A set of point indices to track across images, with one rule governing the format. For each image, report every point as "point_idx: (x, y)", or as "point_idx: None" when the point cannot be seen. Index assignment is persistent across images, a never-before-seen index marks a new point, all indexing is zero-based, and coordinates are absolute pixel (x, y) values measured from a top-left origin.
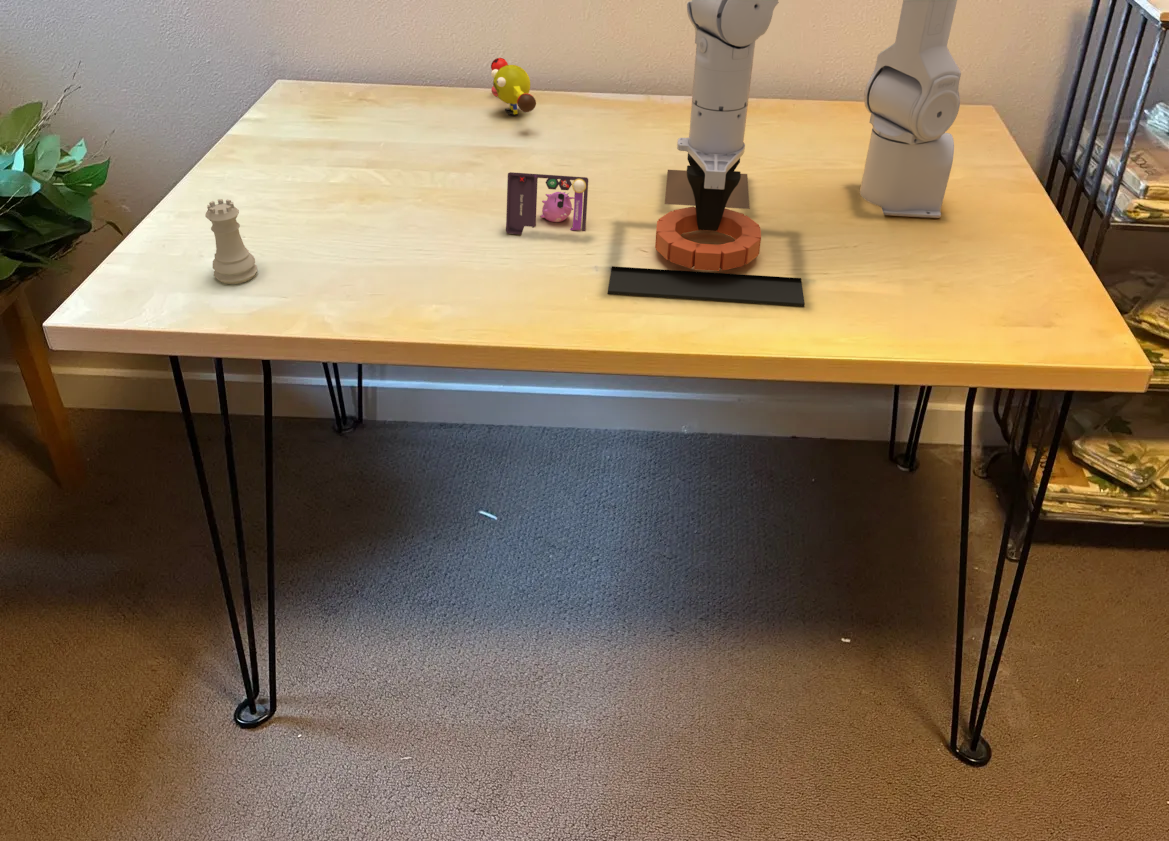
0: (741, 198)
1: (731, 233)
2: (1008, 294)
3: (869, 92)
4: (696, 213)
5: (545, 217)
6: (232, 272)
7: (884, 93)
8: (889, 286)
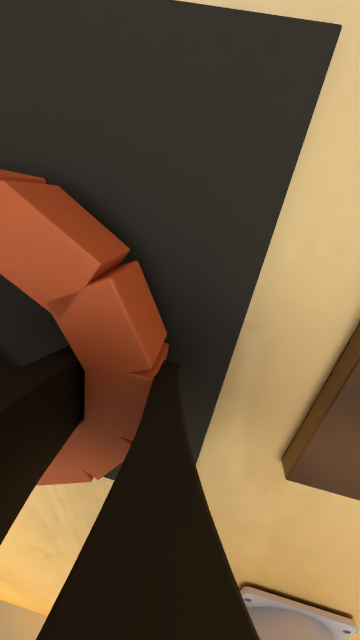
0: (352, 484)
1: None
2: (42, 583)
3: None
4: (34, 361)
5: None
6: None
7: None
8: (33, 521)
